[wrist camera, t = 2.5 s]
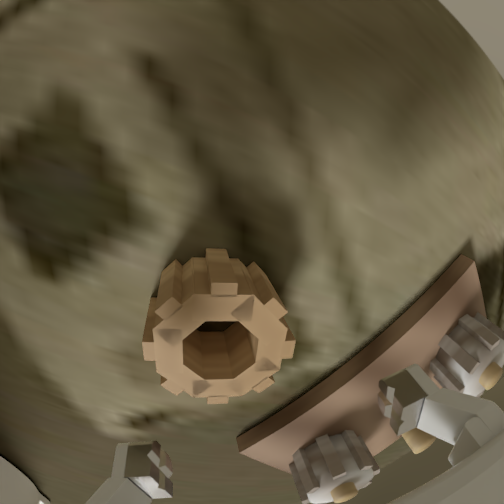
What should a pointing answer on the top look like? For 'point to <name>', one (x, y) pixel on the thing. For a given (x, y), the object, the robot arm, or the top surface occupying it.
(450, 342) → the gear board
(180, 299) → the oak gear
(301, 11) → the top surface
